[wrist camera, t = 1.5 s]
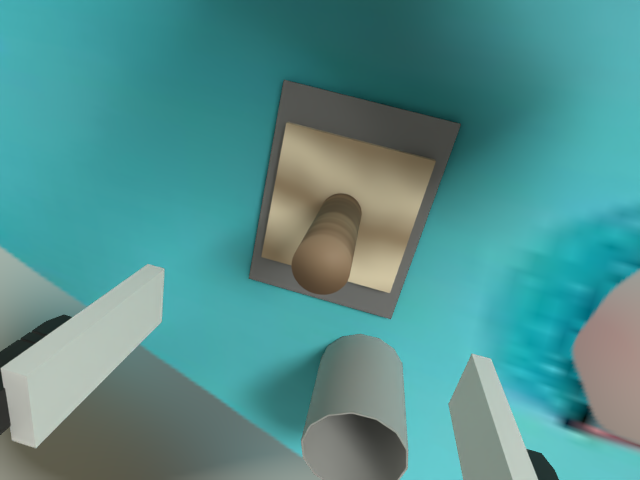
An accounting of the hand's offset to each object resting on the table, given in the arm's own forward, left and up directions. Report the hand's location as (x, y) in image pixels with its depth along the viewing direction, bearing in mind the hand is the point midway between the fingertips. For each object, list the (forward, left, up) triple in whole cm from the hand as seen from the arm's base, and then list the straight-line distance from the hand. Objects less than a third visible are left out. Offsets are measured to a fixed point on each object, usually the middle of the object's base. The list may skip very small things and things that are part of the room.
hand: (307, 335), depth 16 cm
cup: (+16, +6, -19) cm, 25 cm away
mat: (0, 0, -19) cm, 19 cm away
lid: (0, 0, -18) cm, 18 cm away
